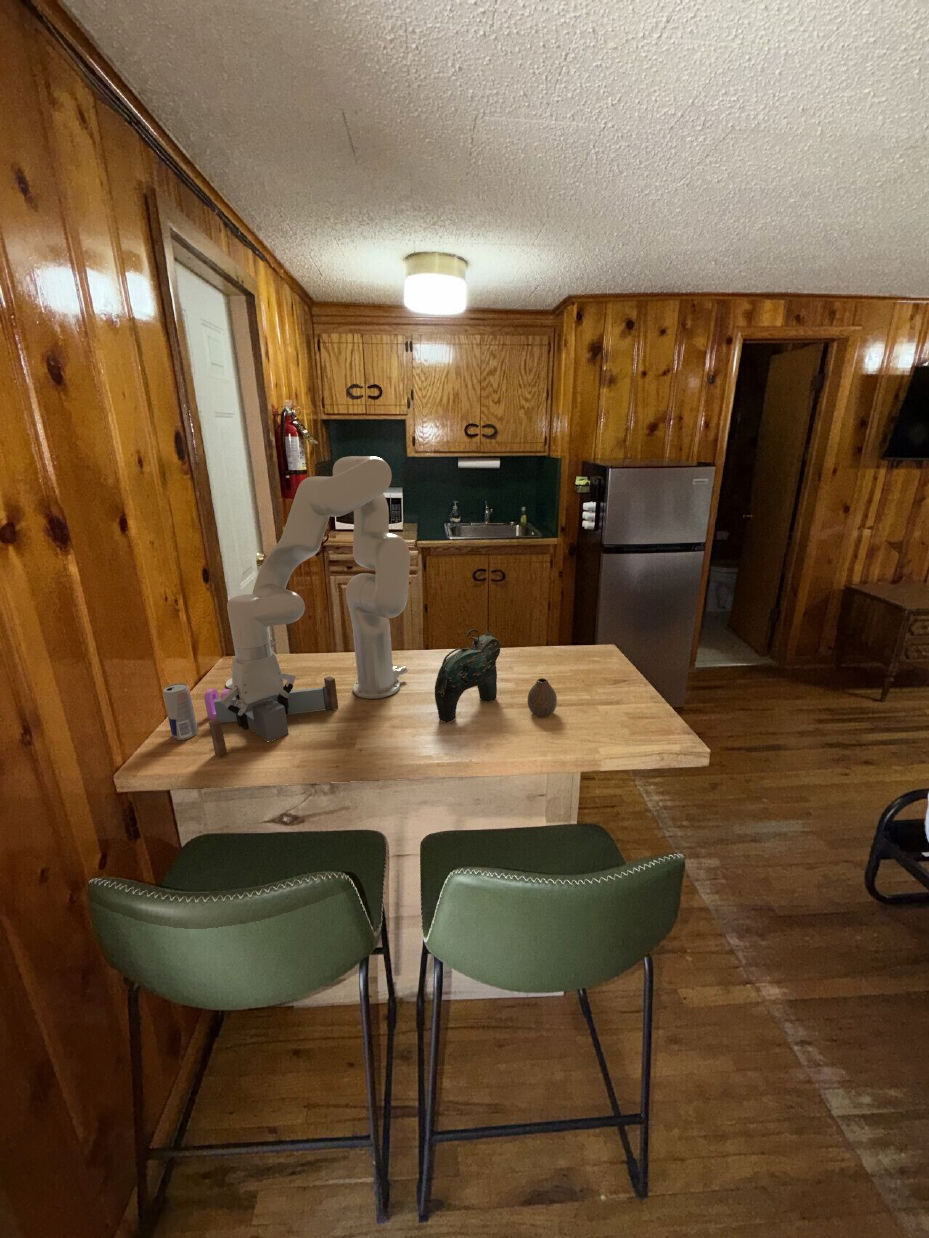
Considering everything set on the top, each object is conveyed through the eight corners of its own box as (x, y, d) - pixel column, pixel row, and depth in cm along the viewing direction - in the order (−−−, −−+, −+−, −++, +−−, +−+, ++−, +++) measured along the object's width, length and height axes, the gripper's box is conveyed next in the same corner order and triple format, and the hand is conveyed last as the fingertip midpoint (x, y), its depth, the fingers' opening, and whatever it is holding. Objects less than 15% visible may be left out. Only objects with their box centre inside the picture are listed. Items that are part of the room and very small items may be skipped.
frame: (332, 704, 137) (329, 676, 134) (338, 707, 135) (335, 678, 133) (215, 754, 116) (208, 721, 114) (219, 758, 115) (213, 724, 112)
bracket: (229, 719, 132) (225, 693, 129) (208, 719, 132) (203, 693, 130) (254, 695, 144) (250, 671, 142) (234, 695, 144) (230, 671, 142)
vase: (558, 709, 131) (559, 675, 129) (553, 722, 125) (554, 688, 122) (530, 705, 133) (531, 672, 131) (524, 718, 127) (524, 684, 125)
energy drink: (178, 729, 127) (168, 683, 123) (201, 728, 127) (192, 681, 124) (168, 741, 122) (157, 693, 118) (192, 739, 122) (182, 692, 119)
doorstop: (266, 718, 131) (262, 692, 129) (288, 733, 124) (284, 706, 121) (246, 726, 128) (242, 699, 126) (268, 742, 120) (263, 714, 118)
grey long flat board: (329, 707, 135) (326, 685, 133) (329, 709, 134) (326, 687, 132) (219, 721, 130) (214, 699, 128) (217, 723, 129) (213, 701, 127)
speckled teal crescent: (488, 691, 142) (486, 619, 136) (506, 698, 137) (506, 624, 131) (431, 718, 129) (427, 640, 122) (450, 728, 124) (446, 646, 118)
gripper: (280, 636, 127) (290, 702, 132) (206, 658, 115) (220, 729, 120) (297, 643, 122) (306, 711, 127) (221, 667, 110) (235, 740, 115)
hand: (264, 720), depth 124 cm, fingers open, 9 cm apart
